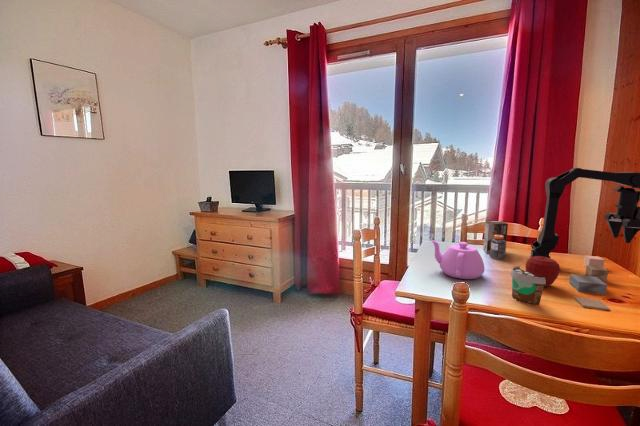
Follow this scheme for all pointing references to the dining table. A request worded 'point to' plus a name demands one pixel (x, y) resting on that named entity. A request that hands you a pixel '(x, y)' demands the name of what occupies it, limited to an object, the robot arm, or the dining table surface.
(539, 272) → the apple
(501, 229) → the coffee box
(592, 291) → the grey flat block
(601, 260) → the pale pink cube
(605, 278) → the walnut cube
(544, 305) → the dining table surface
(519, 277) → the food container
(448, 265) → the pink pot
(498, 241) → the pill bottle
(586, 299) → the tile
